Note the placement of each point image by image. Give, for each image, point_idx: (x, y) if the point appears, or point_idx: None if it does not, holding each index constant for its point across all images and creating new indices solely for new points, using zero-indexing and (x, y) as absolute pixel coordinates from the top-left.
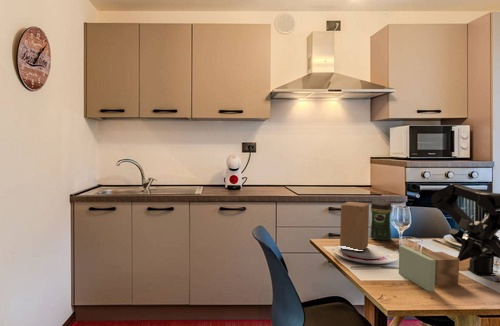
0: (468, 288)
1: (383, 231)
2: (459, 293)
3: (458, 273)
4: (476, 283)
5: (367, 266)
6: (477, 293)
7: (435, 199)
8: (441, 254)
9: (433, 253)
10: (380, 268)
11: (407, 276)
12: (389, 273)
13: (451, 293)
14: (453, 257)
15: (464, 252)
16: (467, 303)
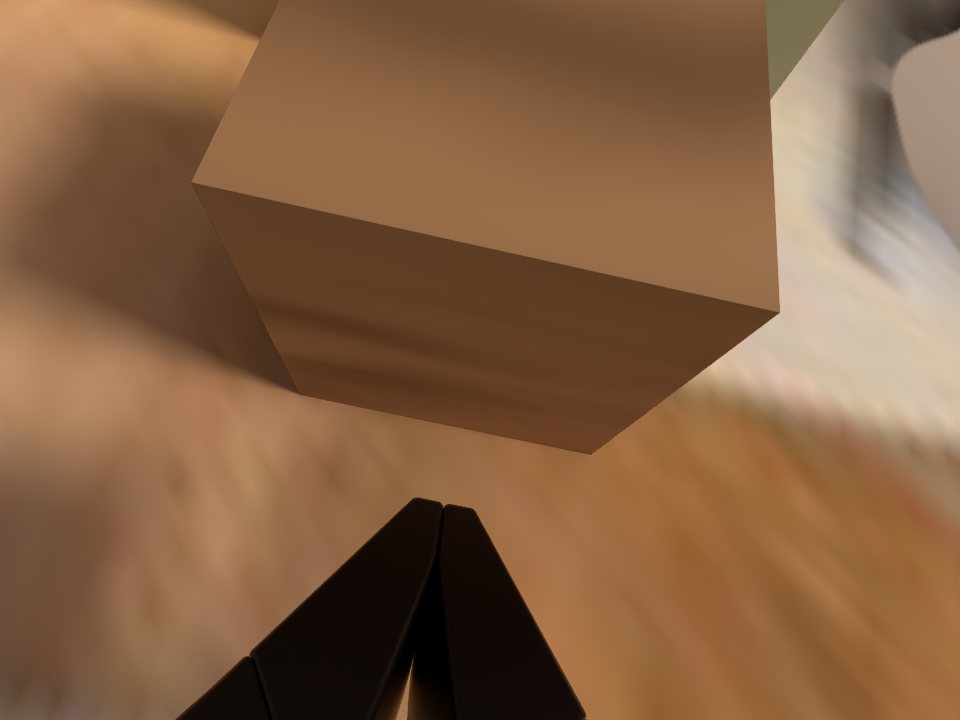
0: (150, 385)
1: None
2: (130, 184)
3: (271, 333)
4: (188, 665)
5: (906, 29)
6: (5, 347)
7: None
8: (600, 133)
9: (691, 61)
10: (855, 75)
11: None
12: None
13: (176, 126)
14: (341, 171)
15: (322, 629)
16: None
